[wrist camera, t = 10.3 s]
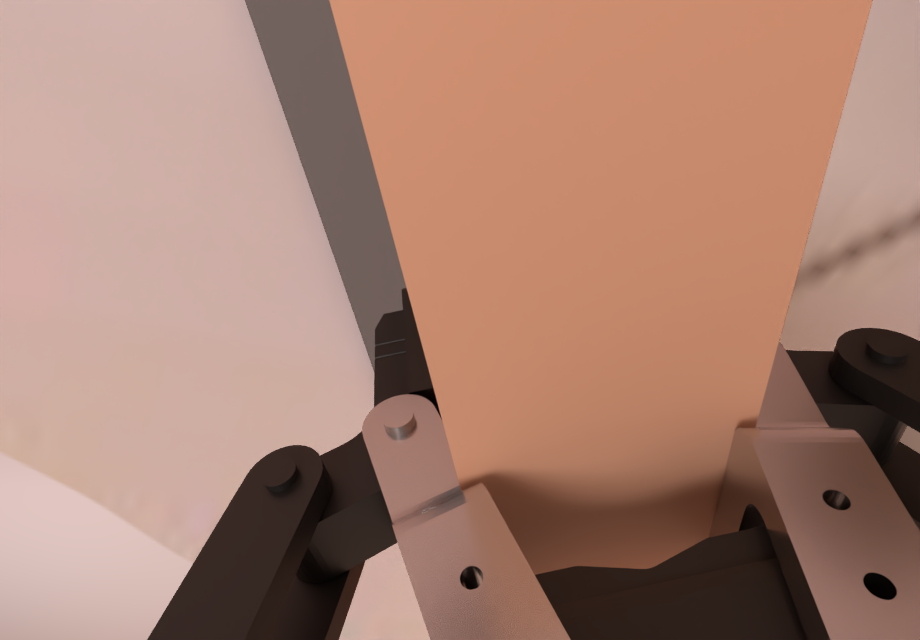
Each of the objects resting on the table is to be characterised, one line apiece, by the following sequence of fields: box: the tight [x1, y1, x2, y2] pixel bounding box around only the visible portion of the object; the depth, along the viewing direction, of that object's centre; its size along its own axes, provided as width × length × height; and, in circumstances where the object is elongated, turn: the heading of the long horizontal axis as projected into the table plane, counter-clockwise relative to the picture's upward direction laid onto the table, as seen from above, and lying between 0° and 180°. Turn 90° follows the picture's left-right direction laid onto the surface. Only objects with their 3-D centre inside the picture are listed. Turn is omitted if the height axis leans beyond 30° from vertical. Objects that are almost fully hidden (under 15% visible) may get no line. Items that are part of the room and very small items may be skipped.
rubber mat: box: [245, 0, 406, 372], centre depth 21 cm, size 26×12×1 cm, turn 9°
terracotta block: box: [329, 0, 873, 575], centre depth 11 cm, size 16×4×8 cm, turn 9°
